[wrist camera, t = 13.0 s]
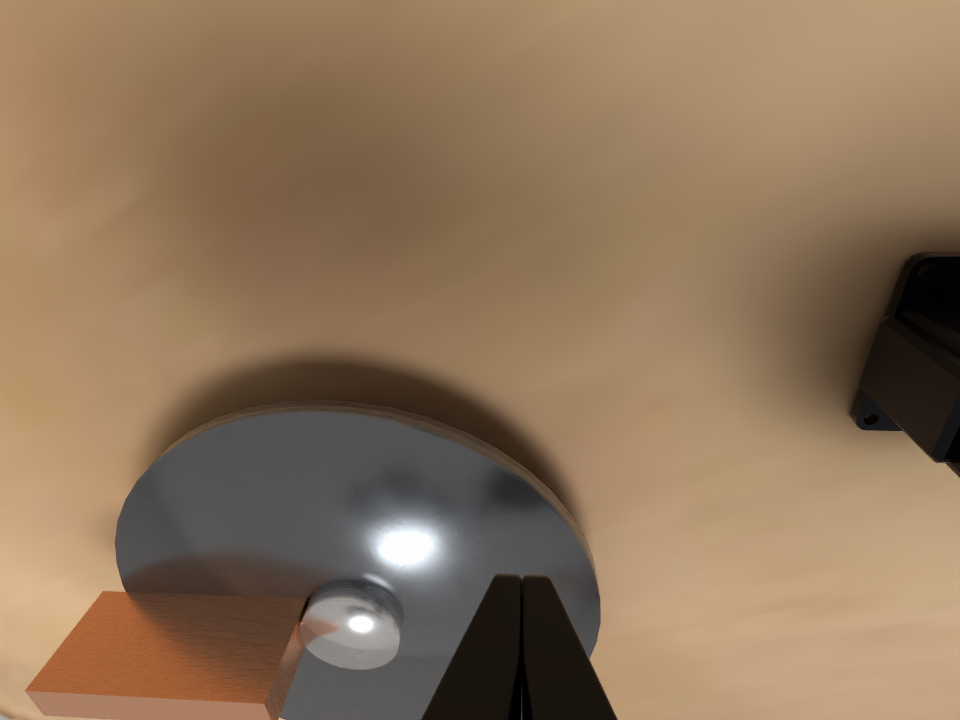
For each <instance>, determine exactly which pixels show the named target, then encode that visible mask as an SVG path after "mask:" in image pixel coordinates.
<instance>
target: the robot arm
mask: <svg viewBox="0 0 960 720" xmlns="http://www.w3.org/2000/svg"><path fill="white" fill-rule="evenodd" d="M925 265H928V269H927V270H926V272H924V273H923V274H921V275H918V272H919V271H920V269H921V268H922V267H924V266H925ZM859 385H860V388H859V391H858V394H857V397H856V399H855V402H854V405H853V408H852V411H851V416H850V417H851V419H852V421H853V422H854V423H855V424H856V425H857V426H858V427H859V428H860V429H862V430H878V431H904V432H905V433H906V434H907V435H908V436H909V437H910V438H911V439H912V440H913V441H914V442H915V443H916V444H917V445H918V446H919V447H920V448H921V449H922V450H923V451H924V452H925V453H926V454H927V455H928V456H929V457H930V458H931V459H932V460H933V461H934V462H936V463H945V464H946V465H947V466H948V467H949V468H950V469H951V470H952V471H953V472H954V473H955V474H956V475H957V476H958V477H959V478H960V252H924V253H919V254H916V255H914V256H912V257H911V258H910V259H908V260H907V261H906V262H905V264H904V266H903V268H902V270H901V273H900V276H899V279H898V281H897V284H896V287H895V290H894V293H893V295H892V298H891V301H890V304H889V307H888V309H887V312H886V315H885V318H884V320H883V321H882V322H881V323H880V326H879V329H878V331H877V334H876V337H875V340H874V343H873V346H872V348H871V351H870V354H869V357H868V360H867V363H866V365H865V368H864V371H863V374H862V377H861V380H860V382H859ZM871 413H872V415H871V416H869V417H868V418H865V416H867V415H868V414H871ZM521 718H522V720H618V719H617V717H616V715H615V713H614V711H613V709H612V706H611V704H610V702H609V700H608V698H607V696H606V694H605V692H604V689H603V687H602V685H601V683H600V681H599V679H598V677H597V675H596V672H595V670H594V668H593V666H592V664H591V662H590V660H589V658H588V655H587V653H586V651H585V649H584V647H583V645H582V643H581V641H580V638H579V636H578V634H577V632H576V630H575V628H574V626H573V624H572V621H571V619H570V617H569V615H568V613H567V611H566V609H565V607H564V604H563V602H562V600H561V598H560V596H559V594H558V592H557V590H556V587H555V585H554V583H553V581H552V580H551V578H550V577H549V576H546V575H525V576H524V577H523V580H522V578H521V576H520V575H518V574H496V575H495V576H494V577H493V579H492V580H491V582H490V584H489V586H488V588H487V590H486V592H485V594H484V596H483V598H482V600H481V602H480V604H479V606H478V608H477V610H476V612H475V614H474V616H473V618H472V620H471V622H470V624H469V626H468V628H467V630H466V632H465V633H464V635H463V637H462V639H461V641H460V643H459V645H458V647H457V649H456V651H455V653H454V655H453V657H452V659H451V661H450V663H449V665H448V667H447V669H446V671H445V673H444V675H443V677H442V679H441V681H440V683H439V685H438V687H437V689H436V691H435V693H434V694H433V696H432V698H431V700H430V702H429V704H428V706H427V708H426V710H425V712H424V714H423V716H422V718H421V720H521Z"/></svg>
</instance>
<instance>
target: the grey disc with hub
mask: <svg viewBox="0 0 960 720" xmlns="http://www.w3.org/2000/svg"><path fill="white" fill-rule="evenodd" d="M115 547H116V559H117V566H118V569H119V573H120V577H121V580H122V584H123V586H124V588H125V591H126V592H112V591H103V592H102V593H101V594H100V596H99V597H98V598H97V600H96V601H95V602H94V603H93V605H92V606H91V607H90V608H89V610H88V611H87V612H86V614H85V615H84V616H83V617H82V619H81V620H80V621H79V622H78V624H77V625H76V626H75V628H74V629H73V630H72V631H71V633H70V634H69V635H68V636H67V638H66V639H65V640H64V642H63V643H62V644H61V645H60V647H59V648H58V649H57V651H56V652H55V653H54V654H53V656H52V657H51V658H50V659H49V661H48V662H47V663H46V665H45V666H44V667H43V668H42V670H41V671H40V672H39V673H38V675H37V676H36V677H35V679H34V680H33V681H32V682H31V684H30V685H29V686H28V687H27V689H26V690H25V692H26V693H27V694H28V696H29V697H30V698H31V699H32V701H33V702H34V703H35V704H36V706H37V707H38V708H39V709H40V711H41V712H42V713H43V715H46V716H63V717H81V718H98V719H115V720H278V719H279V717H280V718H282V719H285V720H421V718H422V716H423V714H424V712H425V710H426V708H427V706H428V704H429V702H430V700H431V698H432V696H433V694H434V693H435V691H436V689H437V687H438V685H439V683H440V681H441V679H442V677H443V675H444V673H445V671H446V669H447V667H448V665H449V663H450V661H451V659H452V657H453V655H454V653H455V651H456V649H457V647H458V645H459V643H460V641H461V639H462V637H463V635H464V633H465V632H466V630H467V628H468V626H469V624H470V622H471V620H472V618H473V616H474V614H475V612H476V610H477V608H478V606H479V604H480V602H481V600H482V598H483V596H484V594H485V592H486V590H487V588H488V586H489V584H490V582H491V580H492V579H493V577H494V576H495V575H496V574H518V575H520V576H521V578H522V580H523V577H524V576H525V575H546V576H549V577H550V578H551V580H552V581H553V583H554V585H555V587H556V590H557V592H558V594H559V596H560V598H561V600H562V602H563V604H564V607H565V609H566V611H567V613H568V615H569V617H570V619H571V621H572V624H573V626H574V628H575V630H576V632H577V634H578V636H579V638H580V641H581V643H582V645H583V647H584V649H585V651H586V653H587V655H588V658H589V659H590V656H591V654H592V652H593V649H594V647H595V644H596V642H597V637H598V632H599V627H600V595H599V587H598V580H597V575H596V570H595V565H594V561H593V556H592V554H591V552H590V549H589V547H588V544H587V542H586V539H585V537H584V535H583V533H582V531H581V530H580V528H579V526H578V525H577V523H576V522H575V520H574V519H573V517H572V515H571V514H570V512H569V511H568V510H567V508H566V507H565V506H564V505H563V504H562V503H561V501H560V500H559V499H558V498H557V497H556V496H555V494H554V493H553V492H552V491H551V490H550V489H549V488H548V487H547V486H546V485H545V484H544V483H543V482H541V481H540V480H539V479H538V478H537V477H536V476H535V475H533V474H532V473H531V472H530V471H529V470H528V469H527V468H525V467H524V466H523V465H521V464H520V463H518V462H517V461H515V460H514V459H512V458H511V457H509V456H508V455H507V454H505V453H504V452H502V451H501V450H499V449H498V448H496V447H494V446H492V445H490V444H488V443H486V442H485V441H483V440H481V439H479V438H477V437H475V436H473V435H471V434H469V433H468V432H466V431H463V430H461V429H458V428H455V427H453V426H450V425H448V424H445V423H443V422H440V421H438V420H435V419H433V418H430V417H426V416H423V415H419V414H416V413H412V412H408V411H405V410H401V409H398V408H394V407H388V406H382V405H376V404H370V403H364V402H358V401H344V400H327V399H310V400H292V401H280V402H274V403H269V404H263V405H257V406H252V407H247V408H244V409H241V410H238V411H235V412H232V413H229V414H226V415H222V416H219V417H217V418H215V419H213V420H211V421H209V422H207V423H205V424H203V425H201V426H199V427H197V428H195V429H193V430H191V431H190V432H188V433H187V434H186V435H184V436H183V437H181V438H180V439H179V440H177V441H176V442H174V443H173V444H172V445H170V446H169V447H168V448H167V450H166V451H165V452H164V453H163V454H162V455H161V456H160V457H159V458H158V459H157V460H156V461H155V462H154V463H153V464H152V465H151V466H150V467H149V469H148V470H147V471H146V472H145V473H144V474H143V475H142V476H141V477H140V479H139V480H138V481H137V482H136V484H135V485H134V487H133V489H132V490H131V492H130V493H129V495H128V497H127V498H126V500H125V502H124V505H123V508H122V511H121V513H120V516H119V519H118V523H117V531H116V539H115ZM521 719H522V718H521Z"/></svg>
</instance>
